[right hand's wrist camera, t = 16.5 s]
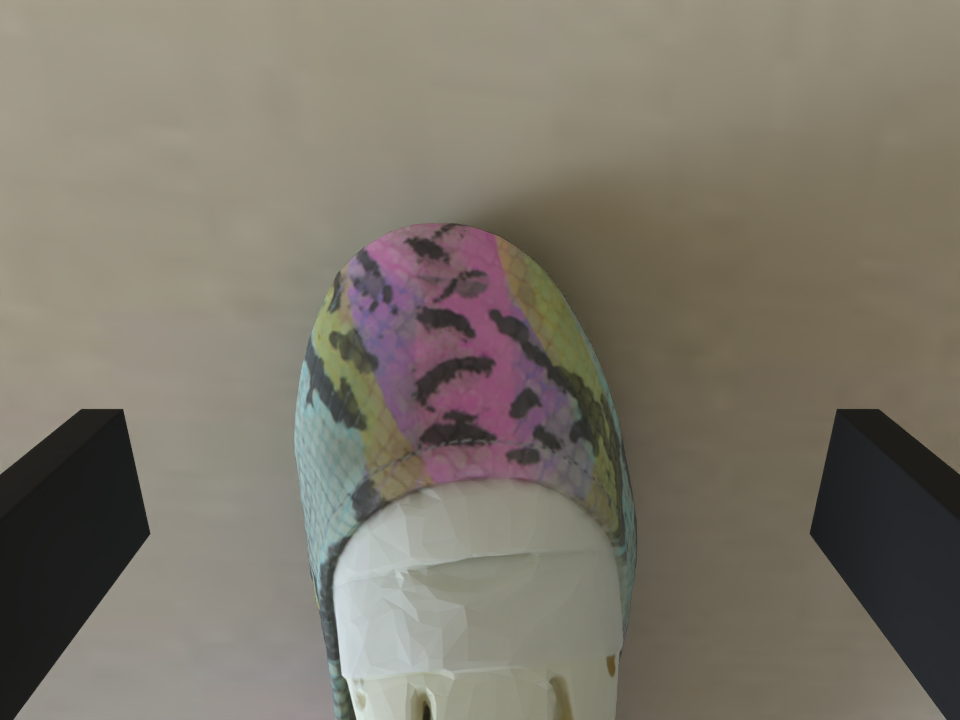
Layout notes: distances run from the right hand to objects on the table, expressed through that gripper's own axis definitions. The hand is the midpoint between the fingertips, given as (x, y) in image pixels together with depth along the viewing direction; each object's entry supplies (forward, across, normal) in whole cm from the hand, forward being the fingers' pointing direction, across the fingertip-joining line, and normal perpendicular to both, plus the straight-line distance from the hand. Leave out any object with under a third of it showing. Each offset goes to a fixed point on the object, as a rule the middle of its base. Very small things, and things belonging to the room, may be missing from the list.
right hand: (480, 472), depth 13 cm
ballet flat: (+5, 0, -8) cm, 10 cm away
